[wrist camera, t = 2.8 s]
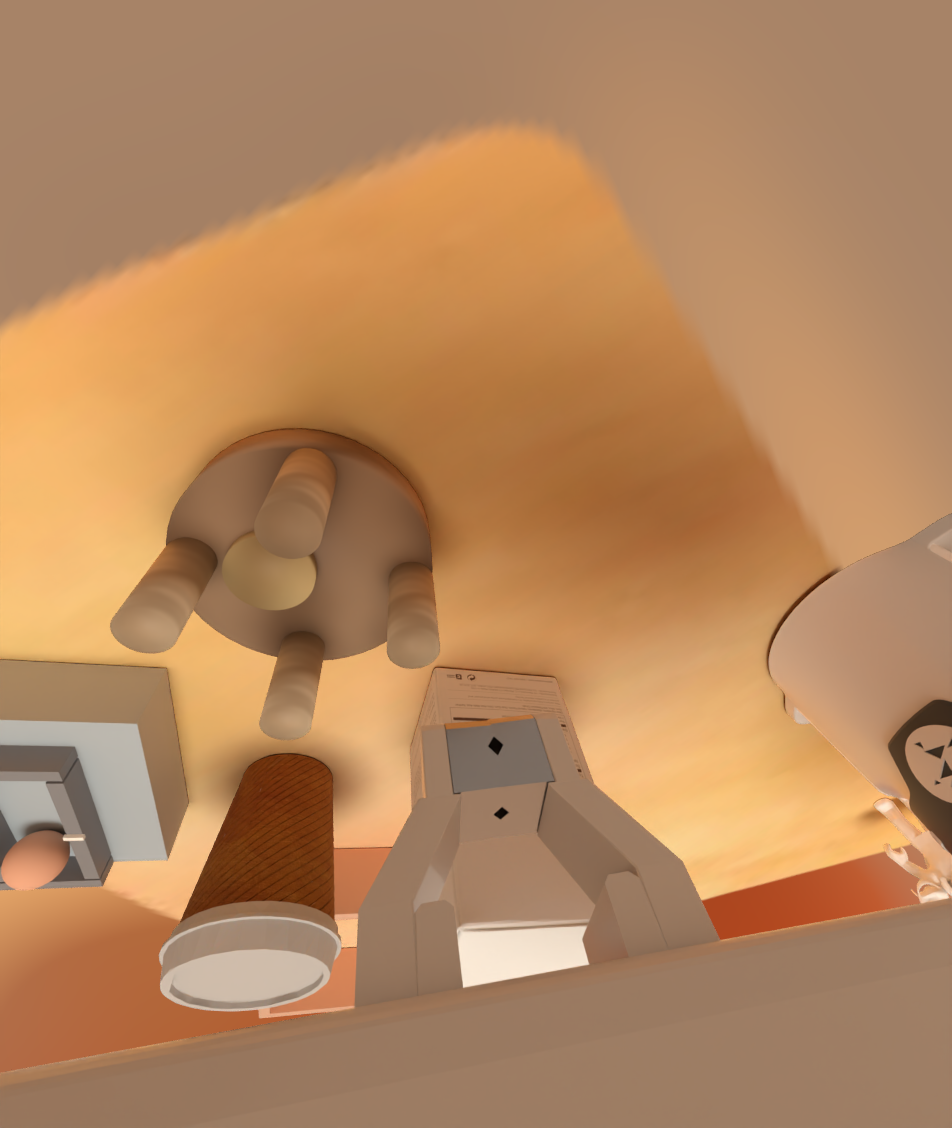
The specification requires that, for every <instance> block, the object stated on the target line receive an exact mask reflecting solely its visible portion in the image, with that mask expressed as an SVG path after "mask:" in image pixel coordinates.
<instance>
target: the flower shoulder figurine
mask: <svg viewBox="0 0 952 1128" xmlns="http://www.w3.org/2000/svg"><path fill="white" fill-rule="evenodd" d="M898 799H899V800H900V801H901V802H902V803H904V805H905V806H906V807H907V808H908V809H909V810H910V811H911V809H910V805H909V800H907V799H904V798H898ZM874 807H875V808H876V809H877V810H878V811H880V812H881V813H882V814H883V815H884V816H885V817H886V818H887V819H888V820H889V821H890V822H891V823H892V824H893V825H894V826H895V827H896V828H897V829H898V830H899V831H900V832H901V833H902V834H903V836H905V837H906V838H907V839H908V840H909V841H910V843H911V844H912V845H913V846H914V847H916V848H917V849H918V850H919V851H920V852H921V853H922V854H923V855H924V861H925V863H926V866H927V867H928V869H923V868H921V867H919V866H918V865H916V864H914V863H912V862H910V861H908V856H907V853H906V851H905V850H904V849H903V847H901V848H900V849H901V852H899V853H898V852H896V851H894V850H892V849H891V847H890V844H888V843H886V844H884V850H885V851H886V853H887V855H888V856H889V857H890V858H891V859H892V860H894V861H895V862H896V863H897V864H899V865H900V866H901V867H903V868H904V869H905V870H906V871H907V872H909V873H910V874H911V875H913V876H915V877H917V878H919V879H921V880H919V881H918V883H917V892H918V894H919V895H917V894H916V893H915V892H914V891H913V890H912V889H911V891H912V892H913V893H914V894H915V895H916V896H918V897H919V900H920V903H926V902H931V901H937V900H942V899H948V898H949V896H948V895H947V893H949V894H950V895H951V896H952V855H951V854H950V853H948V852H947V851H946V850H944V849H943V848H942V847H941V846H940V845H939V844H938V843H937V842H936V841H935V839H934V838H933V837H932V835H931V834H930V831H929V830H928V829H927V828H926V827H925V825H924V824H923V823H922V822H921V821H920V820H919V819H918V818H917V817H916V815H915V814H914V813H913V812H912V811H911V812H912V813H913V814H914V815H915V817H916V818H917V819H918V821H919V822H920V824H921V826H922V827H923V829H924V830H925V831H926V832H924V833H922V832H921V831H920V830H918V829H917V828H916V827H915V826H914V825H912V824H911V823H910V822H909V821H908V820H907V819H906V818H905V817H904V815H903V814H902V813H901V811H900V810H899V809H898V808H897V806H896V805H895V803H894V802H893V801H892V800H889V799H887V798H884V799H880V800H878V801H877V802H875V803H874ZM925 884H929V885H933V886H934V887H932V886H926V887H925V888H924V891H921V892H920V893H919V890H920V888H921V887H922V886H923V885H925ZM939 885H941V886H942V887H943V888H942V887H939Z"/></svg>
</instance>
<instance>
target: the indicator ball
mask: <svg viewBox="0 0 952 1128" xmlns="http://www.w3.org/2000/svg"><path fill="white" fill-rule="evenodd" d="M63 836H64V835H62V834H61V833H59V832H56V831H51V830H44V831H38V832H35V833H32V834H29V835H27V836H25V837H24V838H22V839H21V840H19V841H18V842H17V843H16V844H14V845H13V846H12V848H11V849H10V850H9V851H8V853H7V854H6V856H5V858H4V860H3V862H2V867H1V874H2V878H3V880H4V882H5V883H6V884H7V885H8V886H9V887H11V888H13V889H17V890H31V889H35V888H39V887H41V886H43V885H45V884H47V883H49V882H50V881H52V880H53V879H54V878H55V877H56V876H58V875H59V873H60V872H61V871H62V870H63V869H64V867H65V865H66V864H67V862H68V859H69V856H70V845H69V842H68V841H63Z"/></svg>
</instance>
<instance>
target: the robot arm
mask: <svg viewBox="0 0 952 1128" xmlns="http://www.w3.org/2000/svg"><path fill="white" fill-rule="evenodd" d="M769 671H770V674H771V677H772V679H773V681H774V682H775V683H776V685H777V686H778V687H779V688H780V689H781V690H782V691H783V692H784V694H785V709H786V712H787V714H788V715H789V716H790V717H791V718H792V719H793V720H794V721H795V722H796V723H798V724H810V723H811V724H812V725H813V726H814V727H815V728H816V729H817V730H818V731H819V732H820V733H821V734H822V735H823V736H824V737H825V738H826V739H827V740H828V741H829V742H830V743H831V744H832V745H833V746H834V747H835V748H836V749H837V750H838V751H839V752H840V753H841V754H842V755H843V756H844V757H845V758H846V759H847V760H848V761H849V762H850V763H851V764H852V765H853V766H854V767H855V768H856V769H857V770H858V771H859V772H860V773H861V774H862V775H863V776H864V777H865V778H866V779H867V780H868V781H869V782H870V783H871V784H872V785H873V786H874V787H875V788H876V789H877V790H878V791H880V792H881V793H883V794H885V795H887V796H893V797H896V798H904V799H907V800H909V805H910V809H911V811H912V812H913V813H914V814H915V815H916V817H917V818H918V819H919V820H920V821H921V822H922V823H923V824H924V825H925V827H926V828H927V829H928V830H929V831H930V834H931V835H932V837H933V838H934V839H935V841H936V842H937V843H938V844H939V845H940V846H941V847H942V848H943V849H944V850H946V851H947V852H948V853H950V854H951V855H952V514H949V515H947V516H945V517H943V518H941V519H939V520H938V521H936V522H935V523H933V524H931V525H930V526H928V527H927V528H925V529H924V530H922V531H921V532H919V533H918V534H916V535H915V536H913V537H912V538H910V539H909V540H907V541H905V542H903V543H900V544H898V545H896V546H893V547H890V548H888V549H885V550H882V551H880V552H877V553H874V554H872V555H870V556H867V557H865V558H863V559H861V560H859V561H857V562H855V563H853V564H851V565H850V566H848V567H846V568H844V569H843V570H841V571H839V572H838V573H836V574H835V575H833V576H832V577H830V578H829V579H828V580H826V581H825V582H824V583H822V584H821V585H820V586H818V587H817V588H816V589H815V590H814V591H812V592H811V593H810V594H809V595H808V596H807V597H806V598H805V599H804V600H803V601H802V602H801V603H800V604H799V605H798V606H797V607H796V608H795V609H794V610H793V612H792V613H791V614H790V615H789V616H788V618H787V619H786V620H785V622H784V623H783V625H782V626H781V628H780V630H779V631H778V633H777V635H776V637H775V639H774V641H773V644H772V647H771V650H770V654H769ZM420 736H421V771H422V790H423V798H420V799H418V801H417V803H416V805H415V806H414V808H413V810H412V812H411V814H410V816H409V817H408V819H407V821H406V823H405V825H404V827H403V829H402V830H401V832H400V834H399V836H398V838H397V840H396V842H395V843H394V845H393V847H392V849H391V851H390V853H389V855H388V856H387V858H386V860H385V862H384V864H383V866H382V868H381V869H380V871H379V873H378V875H377V877H376V879H375V881H374V882H373V884H372V886H371V888H370V890H369V892H368V894H367V895H366V897H365V899H364V901H363V903H362V905H361V907H360V908H359V910H358V933H357V957H356V980H355V1004H354V1008H350V1009H344V1010H339V1011H334V1012H329V1013H323V1014H317V1015H312V1016H307V1017H301V1018H296V1019H290V1020H285V1021H279V1022H274V1023H268V1024H263V1025H257V1026H252V1027H247V1028H241V1029H236V1030H231V1031H226V1032H219V1033H214V1034H209V1035H204V1036H198V1037H192V1038H187V1039H181V1040H176V1041H171V1042H165V1043H160V1044H154V1045H149V1046H143V1047H138V1048H133V1049H128V1050H123V1051H116V1052H111V1053H106V1054H100V1055H95V1056H90V1057H84V1058H78V1059H73V1060H67V1061H62V1062H57V1063H51V1064H46V1065H41V1066H35V1067H29V1068H24V1069H19V1070H13V1071H8V1072H2V1073H0V1128H952V898H948V899H942V900H937V901H931V902H926V903H920V904H916V905H910V906H904V907H899V908H893V909H888V910H882V911H877V912H872V913H866V914H861V915H855V916H850V917H844V918H840V919H833V920H828V921H823V922H817V923H812V924H806V925H801V926H795V927H790V928H785V929H779V930H774V931H768V932H763V933H757V934H752V935H747V936H741V937H736V938H731V939H725V940H720V939H719V937H718V934H717V932H716V930H715V928H714V926H713V924H712V922H711V920H710V918H709V916H708V914H707V911H706V909H705V907H704V905H703V904H702V901H701V899H700V897H699V895H698V893H697V891H696V888H695V886H694V884H693V882H692V880H691V878H690V876H689V874H688V872H687V870H686V868H685V865H684V863H683V861H682V860H680V859H679V858H678V857H677V856H676V855H675V854H674V853H672V852H671V851H670V850H669V849H668V848H667V847H666V846H664V845H663V844H662V843H661V842H660V841H659V840H658V839H656V838H655V837H654V836H653V835H652V834H651V833H650V832H648V831H647V830H646V829H645V828H644V827H643V826H642V825H640V824H639V823H638V822H637V821H636V820H635V819H633V818H632V817H631V816H630V815H629V814H628V813H627V812H625V811H624V810H623V809H622V808H621V807H620V806H619V805H617V804H616V803H615V802H614V801H613V800H612V799H611V798H609V797H608V796H607V795H606V794H605V793H604V792H603V791H601V790H600V789H599V788H598V787H597V786H596V785H595V784H593V783H592V782H591V781H590V780H589V779H588V778H583V779H581V778H580V775H579V773H578V770H577V767H576V765H575V762H574V759H573V756H572V754H571V751H570V748H569V746H568V743H567V740H566V738H565V735H564V732H563V729H562V727H561V724H560V721H559V719H558V716H557V715H556V714H555V713H545V714H536V715H531V714H530V715H522V716H513V717H504V718H495V719H488V720H486V721H472V722H458V723H445V724H433V725H422V726H421V727H420ZM533 833H538V834H537V836H538V837H539V838H540V839H541V840H542V842H543V843H544V844H545V845H546V846H547V848H548V849H549V850H550V851H551V852H552V854H553V855H554V856H555V857H556V859H557V860H558V861H559V862H560V863H561V865H562V866H563V867H564V868H565V869H566V871H567V872H568V873H569V874H570V875H571V877H572V878H573V879H574V880H575V881H576V883H577V884H578V885H579V886H580V888H581V889H582V890H583V891H584V892H585V894H586V895H587V896H588V897H589V898H590V900H591V901H592V902H593V903H594V904H595V908H594V911H593V913H592V916H591V918H590V921H589V923H588V925H587V928H586V930H585V933H584V935H583V938H582V941H583V944H584V948H585V952H586V955H587V959H588V962H589V965H583V966H578V967H573V968H567V969H562V970H556V971H551V972H545V973H540V974H534V975H529V976H524V977H518V978H513V979H507V980H502V981H496V982H491V983H486V984H480V985H475V986H469V987H464V988H463V981H462V973H461V964H460V955H459V946H458V938H457V929H456V920H455V912H454V906H452V905H451V904H450V903H449V902H447V901H446V900H440V901H438V900H439V897H440V895H441V892H442V889H443V887H444V884H445V882H446V879H447V877H448V874H449V871H450V869H451V866H452V864H453V861H454V859H455V856H456V853H457V851H458V848H459V844H461V843H467V842H473V841H479V840H485V839H491V838H497V837H506V836H515V835H524V834H533Z"/></svg>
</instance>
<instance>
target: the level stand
mask: <svg viewBox="0 0 952 1128" xmlns="http://www.w3.org/2000/svg"><path fill="white" fill-rule="evenodd" d="M188 804H189V802H188V796H187V790H186V784H185V778H184V772H183V766H182V760H181V753H180V747H179V741H178V735H177V729H176V723H175V717H174V710H173V704H172V698H171V692H170V686H169V680H168V674H167V668H150V667H131V666H112V665H93V664H74V663H55V662H36V661H17V660H0V890H17V889H13V888H11V887H9V886H8V885H7V884H6V883H5V882H4V880H3V878H2V874H1V867H2V862H3V860H4V858H5V856H6V854H7V853H8V851H9V850H10V849H11V848H12V846H13V845H14V844H16V843H17V842H18V841H19V840H21V839H22V838H24V837H25V836H27V835H29V834H32V833H35V832H38V831H44V830H51V831H56V832H59V833H61V834H62V835H64V836H63V841H68V842H69V845H70V856H69V859H68V862H67V864H66V865H65V867H64V869H63V870H62V871H61V872H60V873H59V875H58V876H56V877H55V878H54V879H53V880H52V881H50V882H49V883H47V884H45V885H43V886H41V887H39V888H35V889H44V888H72V887H100V886H103V884H104V882H105V880H106V878H107V876H108V873H109V871H110V869H111V867H112V865H113V862H114V861H150V860H168V858H169V855H170V853H171V850H172V847H173V845H174V842H175V839H176V836H177V834H178V831H179V828H180V826H181V823H182V820H183V817H184V815H185V812H186V809H187V806H188Z"/></svg>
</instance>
